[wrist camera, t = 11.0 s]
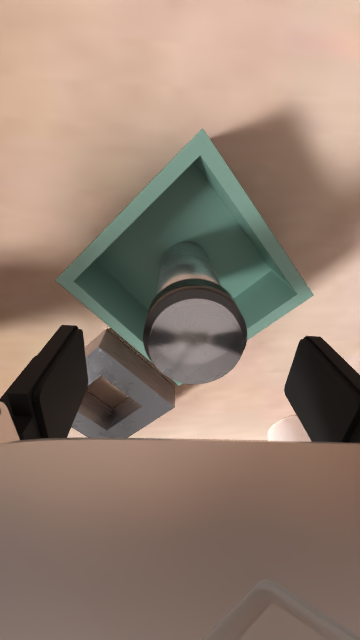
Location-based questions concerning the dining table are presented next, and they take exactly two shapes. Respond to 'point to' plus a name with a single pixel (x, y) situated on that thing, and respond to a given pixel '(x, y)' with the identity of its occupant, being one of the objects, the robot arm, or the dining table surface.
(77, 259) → the bin
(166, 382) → the socket block
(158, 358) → the metal peg
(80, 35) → the dining table surface
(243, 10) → the dining table surface
